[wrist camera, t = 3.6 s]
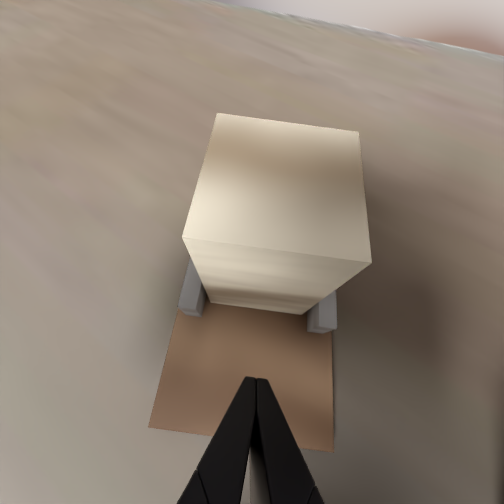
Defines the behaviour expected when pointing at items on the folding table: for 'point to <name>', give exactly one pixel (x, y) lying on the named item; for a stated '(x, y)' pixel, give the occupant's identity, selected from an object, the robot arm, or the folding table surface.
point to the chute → (247, 364)
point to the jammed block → (278, 214)
